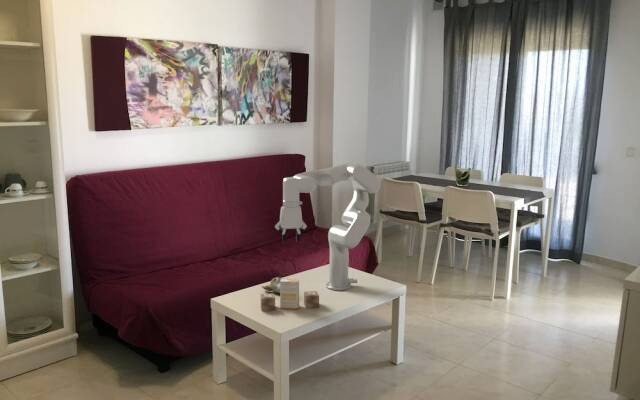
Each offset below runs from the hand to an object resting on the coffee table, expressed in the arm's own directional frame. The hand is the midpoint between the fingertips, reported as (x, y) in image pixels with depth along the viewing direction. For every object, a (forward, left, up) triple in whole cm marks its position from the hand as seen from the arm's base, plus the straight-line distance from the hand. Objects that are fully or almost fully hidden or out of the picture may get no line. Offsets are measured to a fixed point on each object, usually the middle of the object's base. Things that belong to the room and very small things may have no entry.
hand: (290, 241), depth 255 cm
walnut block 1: (+12, +12, -28) cm, 32 cm away
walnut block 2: (-8, +12, -28) cm, 31 cm away
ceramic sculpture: (+5, -8, -28) cm, 29 cm away
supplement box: (+2, +12, -28) cm, 30 cm away
